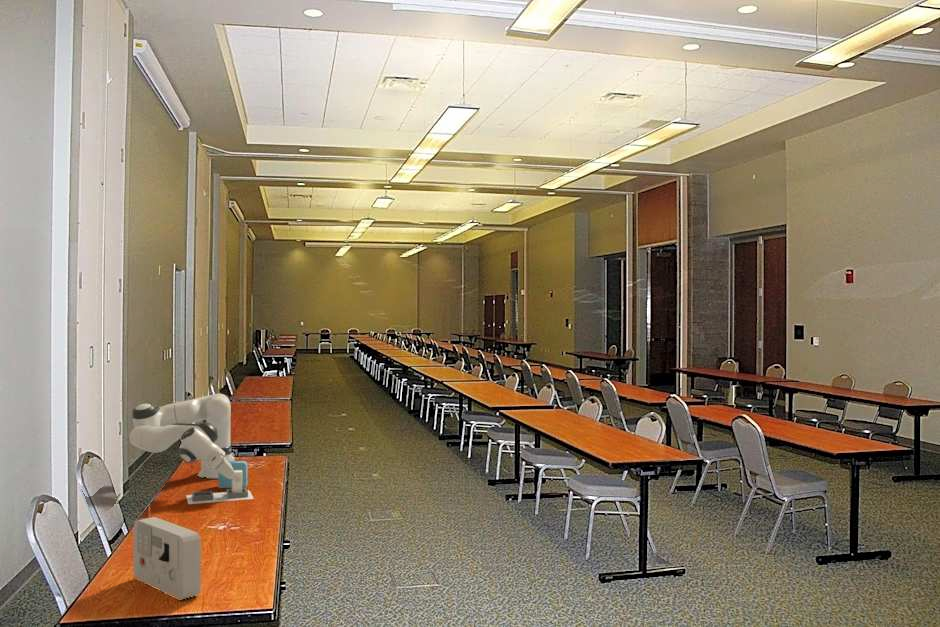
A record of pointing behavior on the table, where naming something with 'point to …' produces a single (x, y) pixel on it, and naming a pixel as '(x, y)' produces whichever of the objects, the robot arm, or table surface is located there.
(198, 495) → the dock
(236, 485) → the plug block
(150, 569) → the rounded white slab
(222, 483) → the data package
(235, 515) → the table surface
